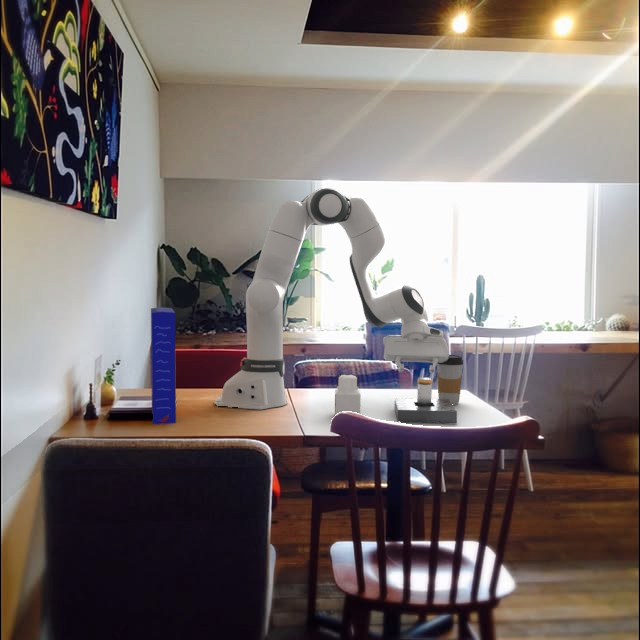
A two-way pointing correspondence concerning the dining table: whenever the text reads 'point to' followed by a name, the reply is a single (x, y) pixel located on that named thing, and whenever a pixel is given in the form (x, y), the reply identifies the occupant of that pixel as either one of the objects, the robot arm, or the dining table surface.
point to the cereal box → (163, 365)
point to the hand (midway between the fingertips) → (416, 371)
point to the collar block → (425, 411)
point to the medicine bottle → (347, 394)
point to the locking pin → (424, 391)
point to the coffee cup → (450, 378)
